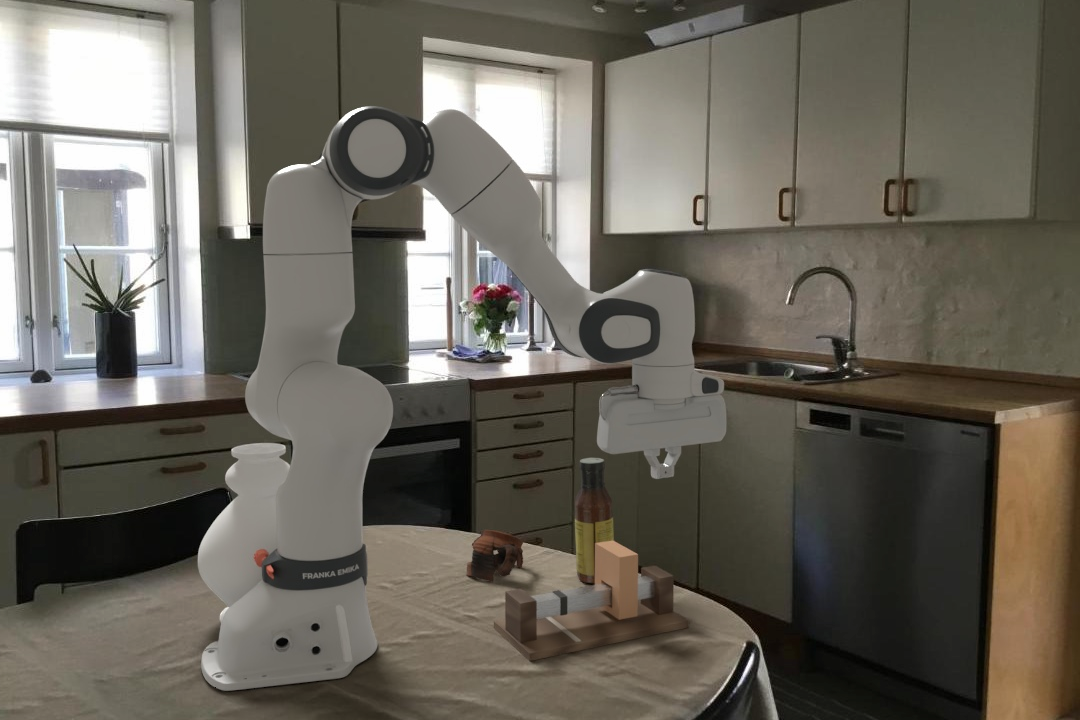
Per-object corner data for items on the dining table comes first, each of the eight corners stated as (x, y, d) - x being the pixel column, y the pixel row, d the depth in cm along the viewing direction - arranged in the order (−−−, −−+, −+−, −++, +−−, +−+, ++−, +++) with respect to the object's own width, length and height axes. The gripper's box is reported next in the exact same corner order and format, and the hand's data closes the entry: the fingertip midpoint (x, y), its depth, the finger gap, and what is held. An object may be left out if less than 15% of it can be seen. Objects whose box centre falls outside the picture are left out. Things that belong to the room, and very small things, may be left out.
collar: (619, 619, 130) (619, 557, 129) (594, 602, 136) (595, 543, 135) (637, 616, 131) (638, 554, 130) (612, 599, 138) (612, 540, 136)
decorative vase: (281, 647, 126) (274, 466, 123) (173, 630, 131) (164, 456, 128) (349, 601, 142) (345, 440, 139) (250, 587, 148) (244, 433, 145)
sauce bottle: (614, 573, 155) (615, 456, 152) (614, 586, 148) (615, 464, 146) (575, 571, 155) (576, 455, 153) (573, 585, 149) (573, 463, 147)
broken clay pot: (452, 574, 156) (466, 526, 158) (499, 590, 160) (512, 543, 163) (487, 576, 146) (501, 525, 148) (536, 594, 150) (549, 544, 153)
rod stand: (529, 660, 121) (529, 613, 121) (493, 627, 132) (493, 583, 131) (688, 627, 132) (689, 583, 132) (643, 599, 143) (644, 558, 142)
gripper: (611, 391, 126) (611, 491, 128) (733, 380, 135) (732, 473, 136) (588, 385, 132) (589, 480, 133) (707, 375, 140) (706, 464, 142)
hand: (662, 477), depth 135 cm, fingers closed
